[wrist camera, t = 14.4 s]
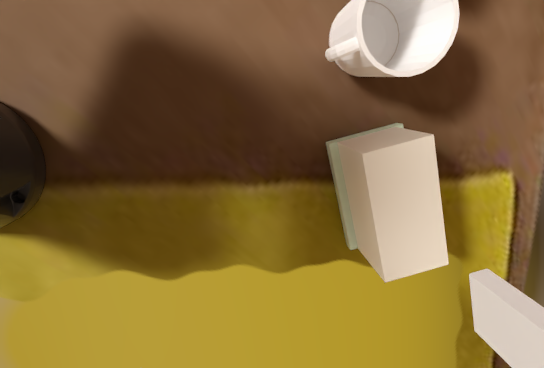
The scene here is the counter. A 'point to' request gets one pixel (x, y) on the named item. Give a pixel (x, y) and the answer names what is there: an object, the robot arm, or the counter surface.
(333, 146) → the header block
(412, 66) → the mug
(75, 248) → the counter surface
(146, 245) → the counter surface
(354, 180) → the white rectangular block
